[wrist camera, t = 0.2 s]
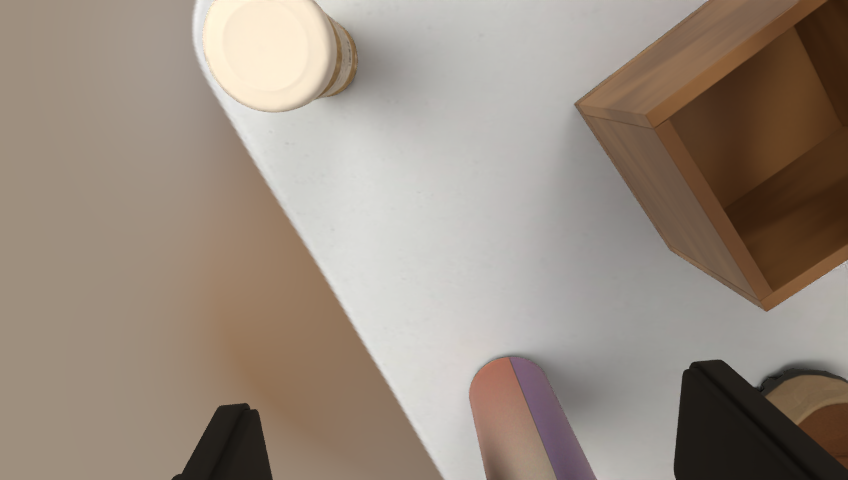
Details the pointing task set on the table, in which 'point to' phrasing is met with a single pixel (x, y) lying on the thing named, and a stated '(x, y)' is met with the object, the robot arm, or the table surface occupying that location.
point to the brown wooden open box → (739, 140)
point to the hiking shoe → (814, 406)
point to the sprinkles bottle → (277, 52)
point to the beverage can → (523, 425)
